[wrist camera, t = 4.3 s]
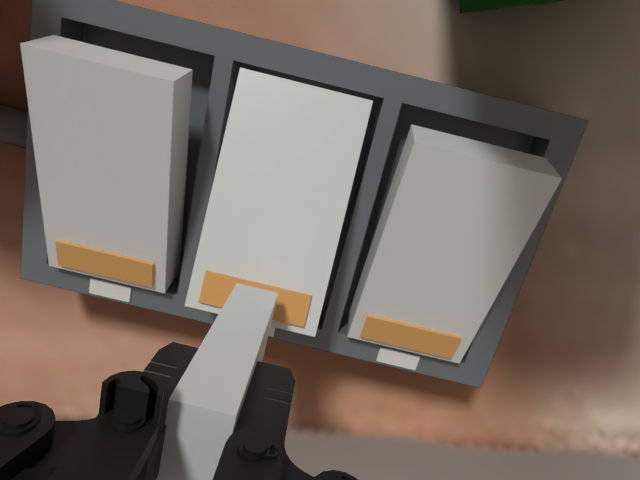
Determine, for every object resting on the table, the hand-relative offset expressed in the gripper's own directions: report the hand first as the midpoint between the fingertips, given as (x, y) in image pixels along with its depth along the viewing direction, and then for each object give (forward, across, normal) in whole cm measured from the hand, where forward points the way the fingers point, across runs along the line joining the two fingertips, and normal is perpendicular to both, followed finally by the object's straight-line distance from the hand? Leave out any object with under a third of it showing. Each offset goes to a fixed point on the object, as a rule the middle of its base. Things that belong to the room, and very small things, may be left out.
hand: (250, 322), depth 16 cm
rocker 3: (+4, +6, +4) cm, 8 cm away
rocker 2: (+4, 0, +4) cm, 5 cm away
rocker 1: (+4, -7, +4) cm, 8 cm away
